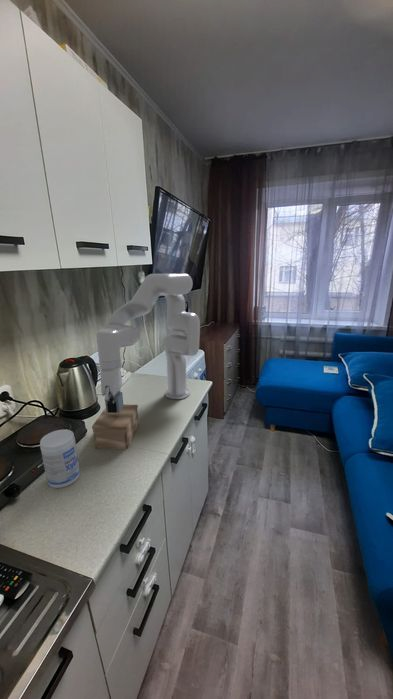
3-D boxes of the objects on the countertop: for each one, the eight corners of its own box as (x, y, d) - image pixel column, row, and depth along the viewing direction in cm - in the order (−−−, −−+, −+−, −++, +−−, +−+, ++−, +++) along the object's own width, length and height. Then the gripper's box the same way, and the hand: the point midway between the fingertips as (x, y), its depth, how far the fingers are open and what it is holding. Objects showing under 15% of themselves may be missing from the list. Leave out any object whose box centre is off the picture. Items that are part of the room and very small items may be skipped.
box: (110, 424, 119) (108, 407, 117) (138, 424, 118) (137, 407, 116) (95, 448, 104) (92, 429, 101) (127, 448, 103) (125, 429, 101)
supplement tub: (75, 487, 86) (68, 446, 81) (42, 491, 84) (33, 449, 80) (83, 465, 95) (77, 427, 90) (53, 468, 94) (46, 430, 89)
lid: (108, 406, 117) (107, 404, 117) (137, 406, 116) (137, 404, 116) (92, 428, 101) (91, 426, 101) (126, 429, 101) (126, 427, 100)
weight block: (110, 405, 110) (109, 391, 108) (123, 406, 110) (122, 392, 108) (106, 412, 105) (104, 397, 103) (119, 412, 105) (118, 397, 103)
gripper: (108, 355, 110) (112, 398, 116) (90, 371, 94) (96, 420, 99) (127, 355, 110) (131, 398, 115) (112, 372, 94) (117, 420, 99)
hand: (115, 408), depth 107 cm, fingers closed on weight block, 5 cm apart
